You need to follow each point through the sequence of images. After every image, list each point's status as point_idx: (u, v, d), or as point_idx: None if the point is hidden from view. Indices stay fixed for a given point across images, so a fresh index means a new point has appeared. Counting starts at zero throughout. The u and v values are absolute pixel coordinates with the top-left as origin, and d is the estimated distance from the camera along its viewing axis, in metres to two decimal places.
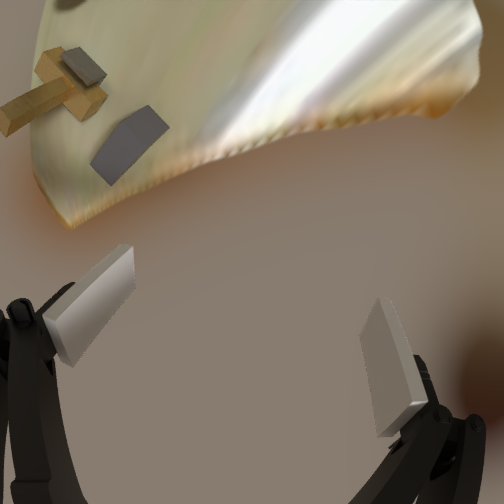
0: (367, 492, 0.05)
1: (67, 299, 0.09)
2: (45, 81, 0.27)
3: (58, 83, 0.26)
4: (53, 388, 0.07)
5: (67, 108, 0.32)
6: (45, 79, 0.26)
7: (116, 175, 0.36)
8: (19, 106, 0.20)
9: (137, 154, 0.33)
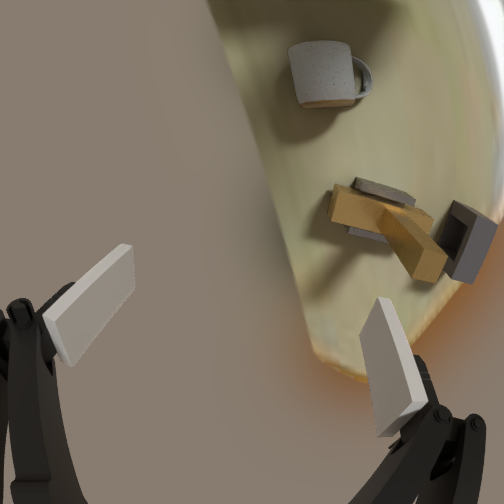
0: (367, 492, 0.05)
1: (67, 299, 0.09)
2: (359, 225, 0.33)
3: (397, 214, 0.30)
4: (53, 388, 0.07)
5: None
6: (358, 223, 0.33)
7: (477, 269, 0.31)
8: (427, 241, 0.23)
9: (492, 236, 0.28)
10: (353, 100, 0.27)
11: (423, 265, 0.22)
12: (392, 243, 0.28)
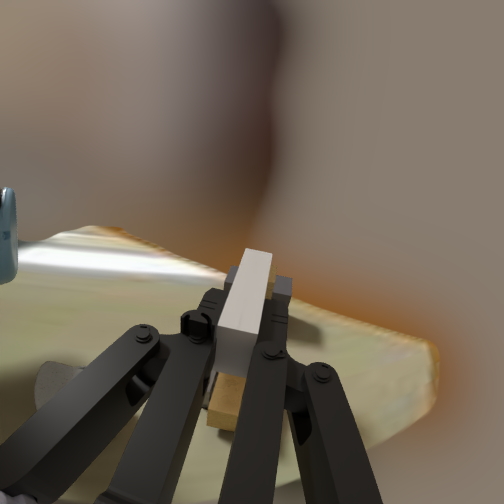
0: (230, 451, 0.07)
1: (235, 306, 0.11)
2: None
3: None
4: (198, 409, 0.08)
5: None
6: None
7: (276, 276, 0.45)
8: None
9: None
10: None
11: None
12: None
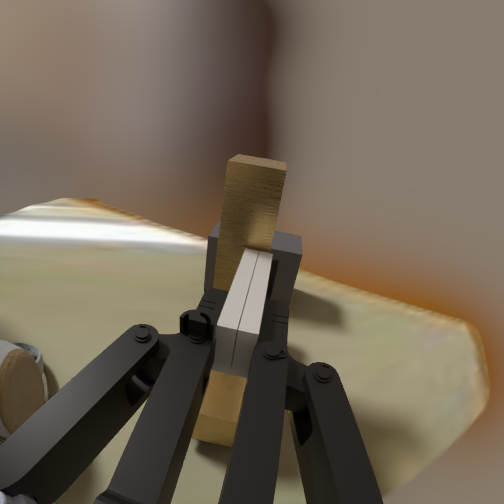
0: (231, 451, 0.07)
1: (234, 306, 0.11)
2: None
3: None
4: (197, 409, 0.08)
5: None
6: None
7: (280, 233, 0.33)
8: None
9: None
10: (24, 350, 0.13)
11: (258, 163, 0.14)
12: None
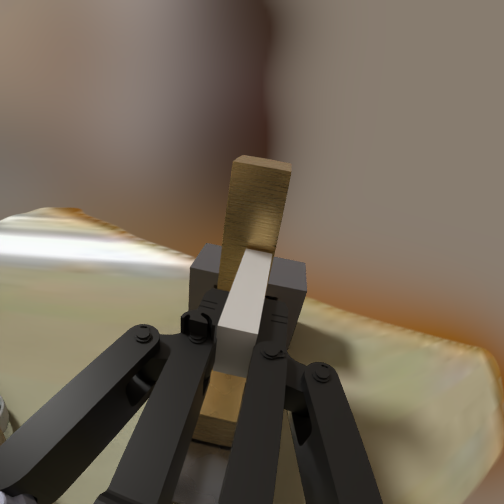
0: (230, 451, 0.07)
1: (235, 306, 0.11)
2: None
3: None
4: (198, 409, 0.08)
5: None
6: None
7: (280, 260, 0.27)
8: None
9: None
10: None
11: (263, 164, 0.14)
12: None
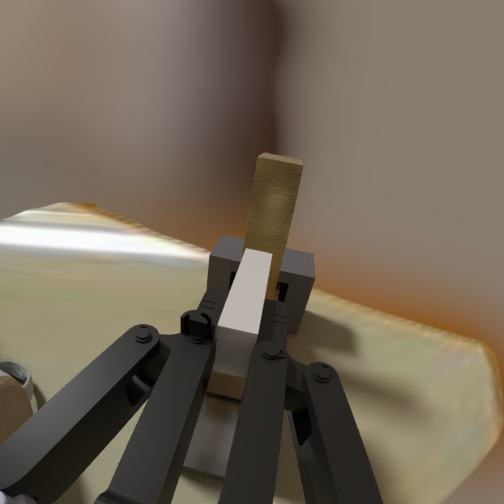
0: (230, 451, 0.07)
1: (235, 306, 0.11)
2: None
3: None
4: (198, 409, 0.08)
5: None
6: None
7: (290, 251, 0.30)
8: None
9: (239, 239, 0.30)
10: (10, 377, 0.11)
11: (281, 159, 0.18)
12: (277, 255, 0.21)
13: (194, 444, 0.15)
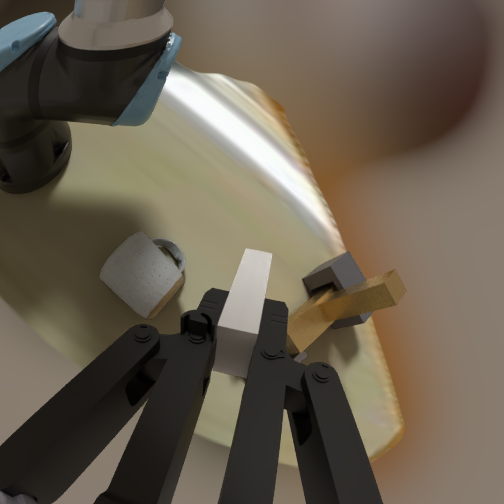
0: (230, 451, 0.07)
1: (235, 306, 0.11)
2: (317, 334, 0.36)
3: (330, 297, 0.37)
4: (198, 409, 0.08)
5: None
6: (315, 333, 0.36)
7: None
8: (374, 280, 0.30)
9: (354, 261, 0.41)
10: (182, 276, 0.31)
11: (392, 290, 0.28)
12: (353, 313, 0.33)
13: None
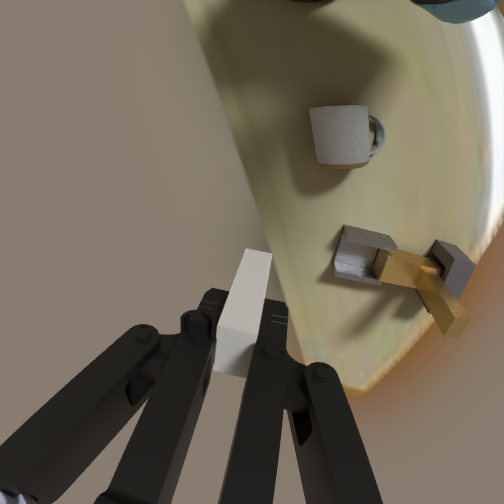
0: (230, 451, 0.07)
1: (235, 306, 0.11)
2: (400, 283, 0.38)
3: (431, 275, 0.35)
4: (198, 409, 0.08)
5: (375, 284, 0.40)
6: (399, 281, 0.38)
7: None
8: (456, 307, 0.28)
9: (469, 275, 0.34)
10: (367, 161, 0.32)
11: (452, 327, 0.26)
12: (427, 302, 0.33)
13: (352, 241, 0.41)
